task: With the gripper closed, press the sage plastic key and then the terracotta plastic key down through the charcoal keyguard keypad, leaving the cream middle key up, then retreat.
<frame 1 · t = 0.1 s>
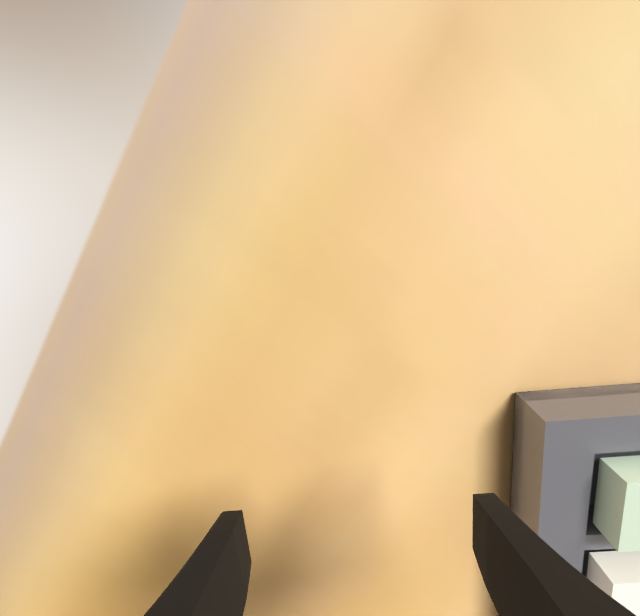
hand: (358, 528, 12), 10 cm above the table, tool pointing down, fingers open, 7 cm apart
cream key: (635, 594, 20), point 4 cm above the table, slide at 0.0 cm
keypad: (589, 537, 24), on the table
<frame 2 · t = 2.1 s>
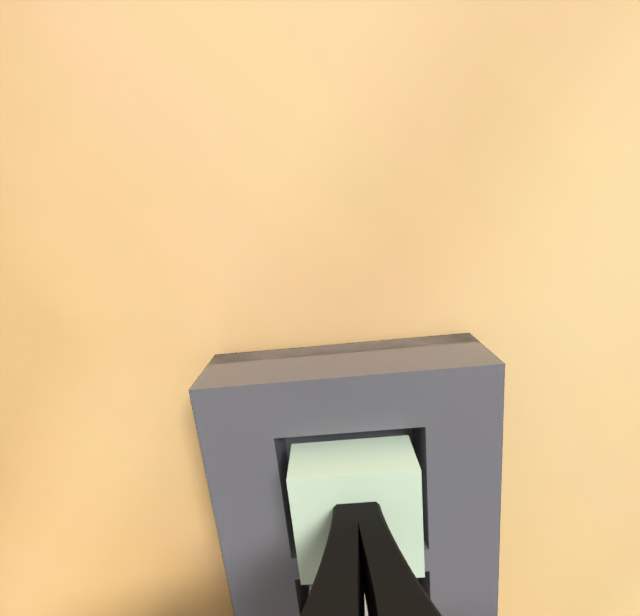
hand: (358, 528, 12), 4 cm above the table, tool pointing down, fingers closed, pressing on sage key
keypad: (359, 556, 17), on the table
sage key: (355, 508, 12), point 4 cm above the table, slide at 0.1 cm, touching gripper
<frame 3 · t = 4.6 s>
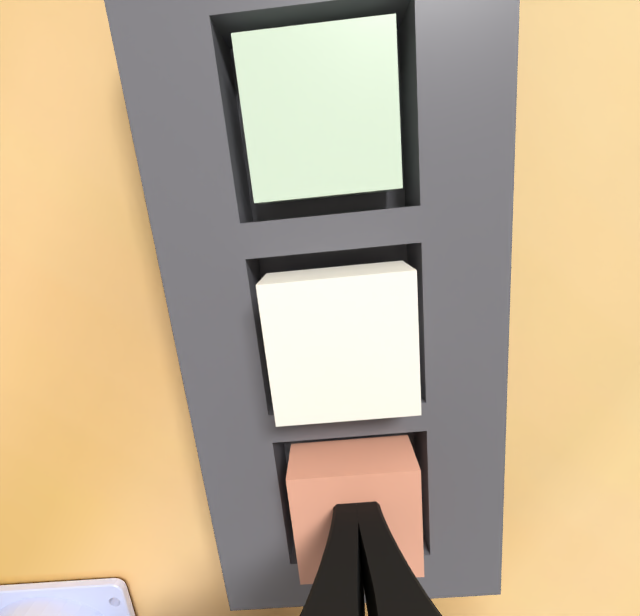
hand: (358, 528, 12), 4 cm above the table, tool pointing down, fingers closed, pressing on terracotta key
cream key: (340, 341, 11), point 4 cm above the table, slide at 0.0 cm
keypad: (336, 308, 14), on the table
sage key: (321, 121, 10), point 2 cm above the table, slide at 1.3 cm
terracotta key: (355, 508, 12), point 3 cm above the table, slide at 0.3 cm, touching gripper
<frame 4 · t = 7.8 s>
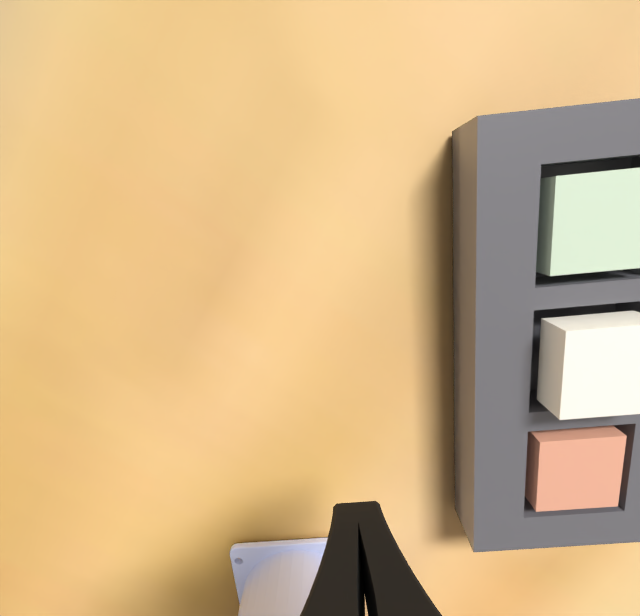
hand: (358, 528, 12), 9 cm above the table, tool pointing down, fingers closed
cream key: (597, 364, 16), point 4 cm above the table, slide at 0.0 cm
keypad: (549, 336, 20), on the table
sage key: (588, 222, 16), point 2 cm above the table, slide at 1.3 cm
terracotta key: (568, 462, 19), point 2 cm above the table, slide at 1.3 cm
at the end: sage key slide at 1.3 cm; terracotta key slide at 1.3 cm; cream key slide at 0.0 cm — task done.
